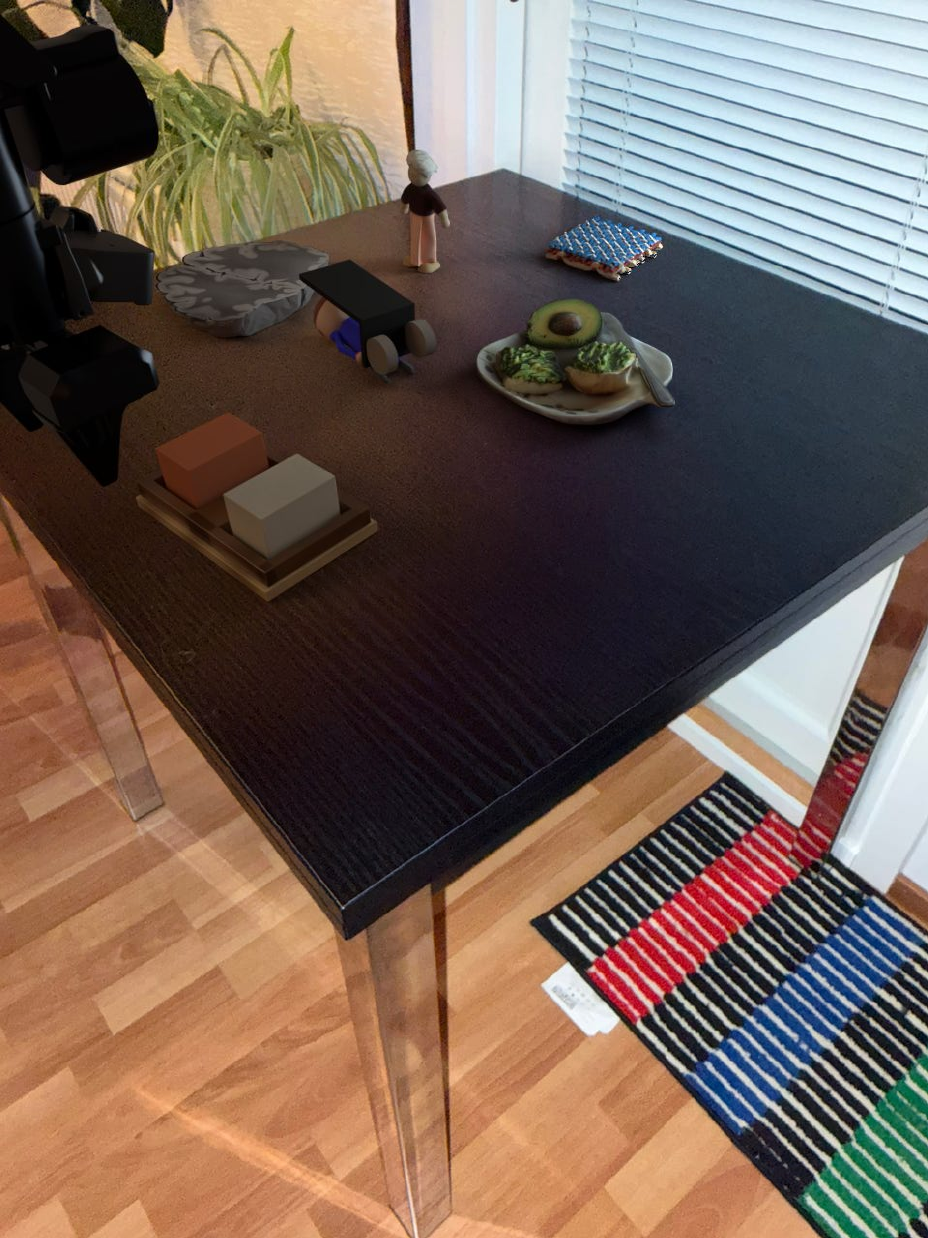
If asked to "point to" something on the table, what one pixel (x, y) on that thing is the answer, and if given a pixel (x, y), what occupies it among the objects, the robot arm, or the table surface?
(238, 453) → the orange rectangular block
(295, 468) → the cream block
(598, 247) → the woven mat
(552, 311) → the salad plate
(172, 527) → the wooden divided tray
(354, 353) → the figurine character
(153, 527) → the table surface
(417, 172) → the grandmother figurine
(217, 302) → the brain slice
